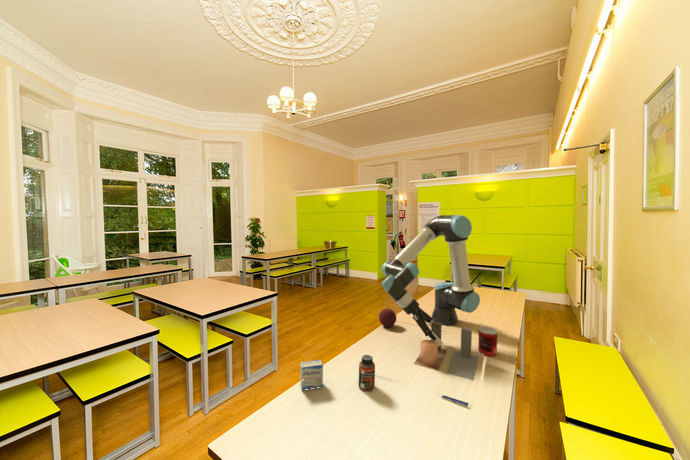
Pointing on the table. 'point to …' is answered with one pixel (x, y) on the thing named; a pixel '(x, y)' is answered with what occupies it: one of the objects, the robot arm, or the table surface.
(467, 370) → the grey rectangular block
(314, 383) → the medicine box
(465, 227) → the robot arm
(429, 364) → the peach capsule shape
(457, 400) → the hard drive
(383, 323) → the decorative ball
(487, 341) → the canned food
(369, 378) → the supplement bottle
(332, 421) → the table surface
